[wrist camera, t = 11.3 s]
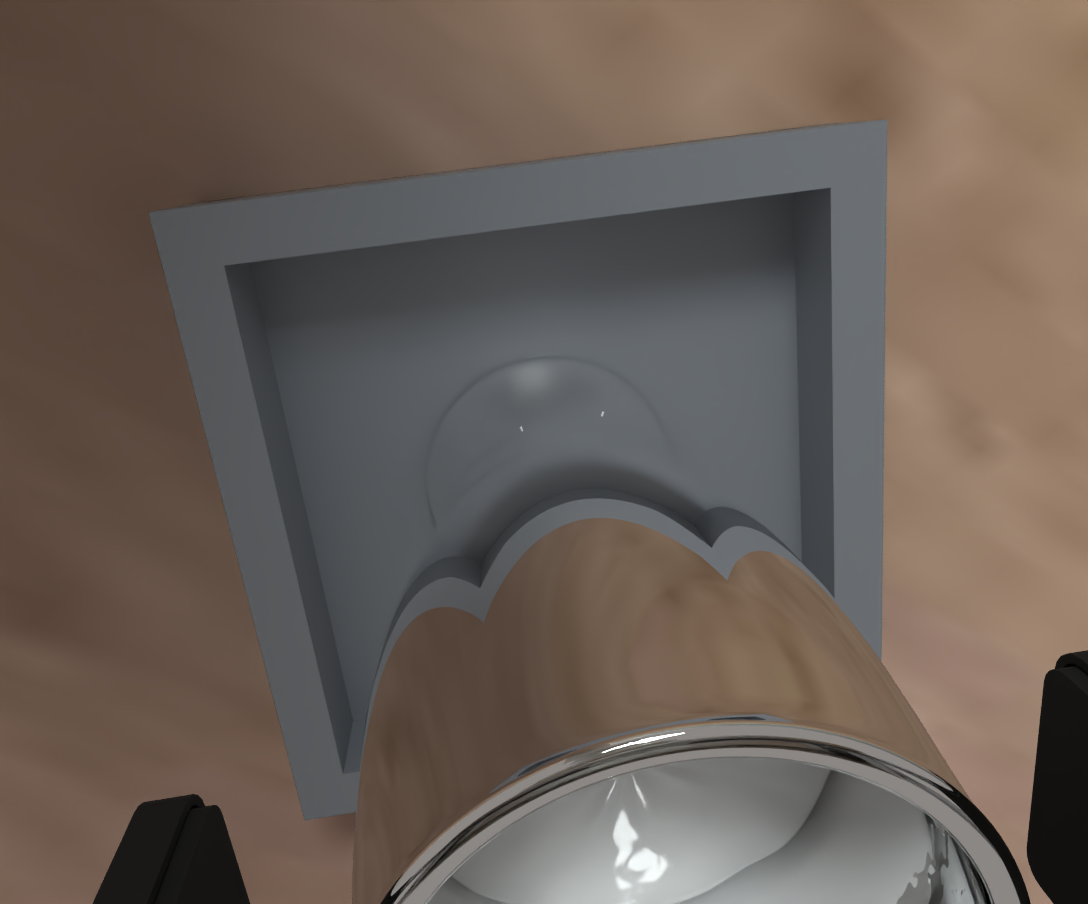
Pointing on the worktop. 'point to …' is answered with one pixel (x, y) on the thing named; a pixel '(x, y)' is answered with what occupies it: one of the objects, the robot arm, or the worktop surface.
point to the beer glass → (635, 690)
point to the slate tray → (517, 335)
